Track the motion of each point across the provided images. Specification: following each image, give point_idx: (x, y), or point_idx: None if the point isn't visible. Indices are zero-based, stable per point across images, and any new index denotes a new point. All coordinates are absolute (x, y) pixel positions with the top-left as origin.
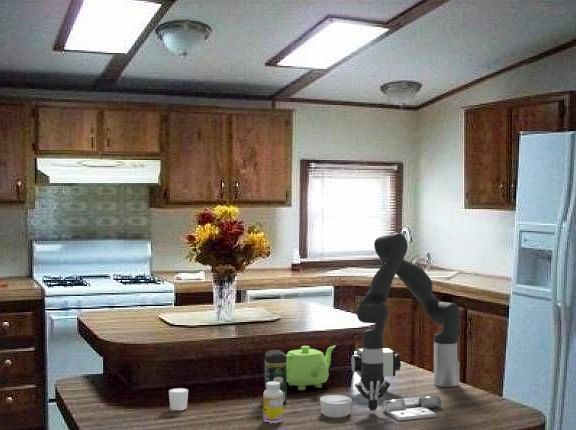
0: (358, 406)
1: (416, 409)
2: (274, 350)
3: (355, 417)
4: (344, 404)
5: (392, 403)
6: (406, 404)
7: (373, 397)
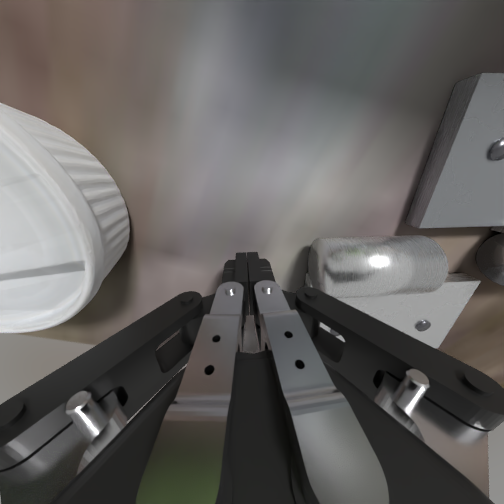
0: (223, 91)
1: (423, 302)
2: None
3: (154, 281)
4: (42, 327)
5: (353, 296)
6: (460, 220)
7: (254, 313)
